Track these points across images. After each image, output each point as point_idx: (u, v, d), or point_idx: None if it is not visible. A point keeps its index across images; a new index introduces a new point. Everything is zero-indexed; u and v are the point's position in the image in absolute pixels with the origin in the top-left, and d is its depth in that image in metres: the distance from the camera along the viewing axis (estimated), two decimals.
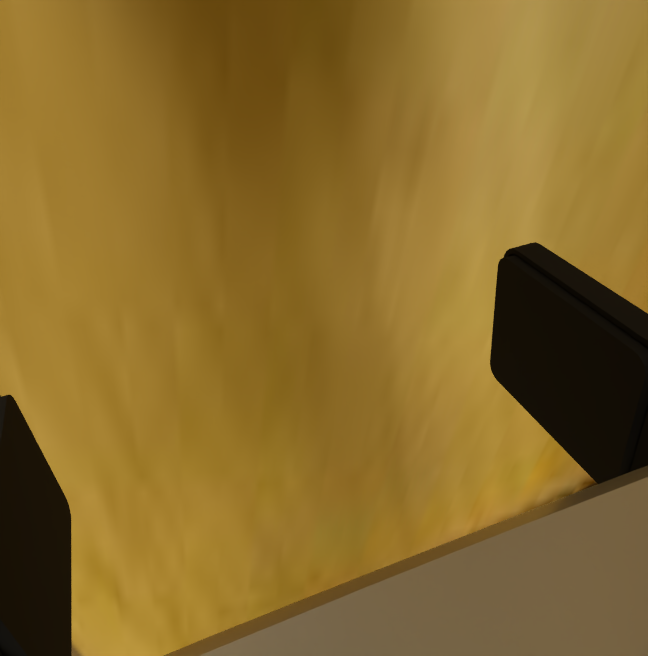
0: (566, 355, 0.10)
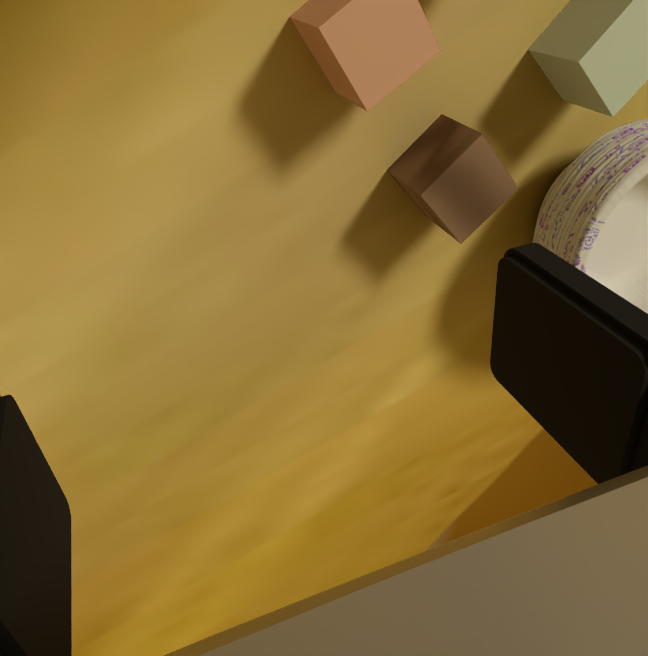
0: (566, 355, 0.10)
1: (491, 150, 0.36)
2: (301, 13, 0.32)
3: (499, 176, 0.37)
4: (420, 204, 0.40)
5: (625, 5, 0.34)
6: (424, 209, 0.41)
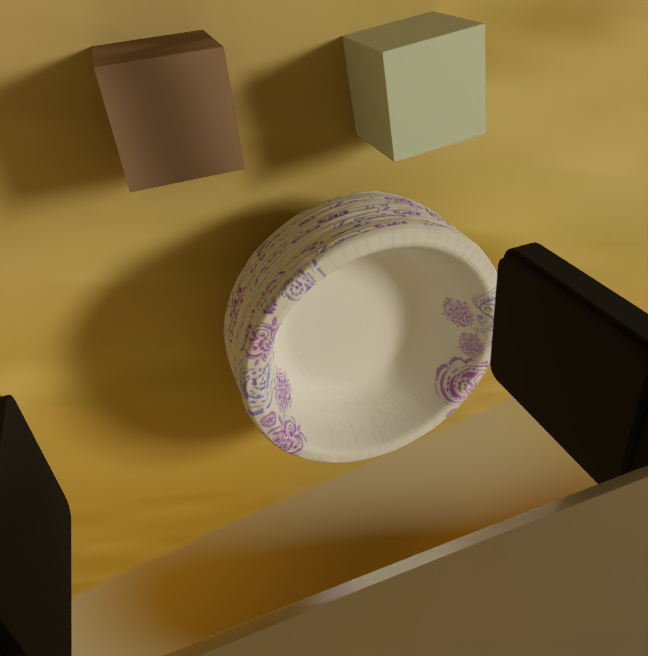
0: (566, 355, 0.10)
1: (227, 82, 0.24)
2: None
3: (224, 131, 0.25)
4: None
5: (459, 29, 0.27)
6: None
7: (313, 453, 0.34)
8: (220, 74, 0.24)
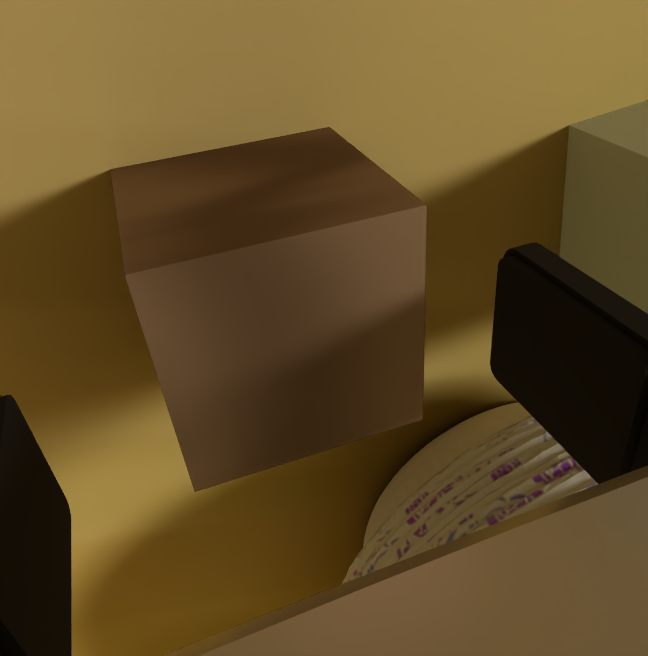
0: (566, 355, 0.10)
1: (420, 274, 0.11)
2: None
3: (398, 362, 0.12)
4: None
5: None
6: None
7: None
8: (410, 260, 0.11)
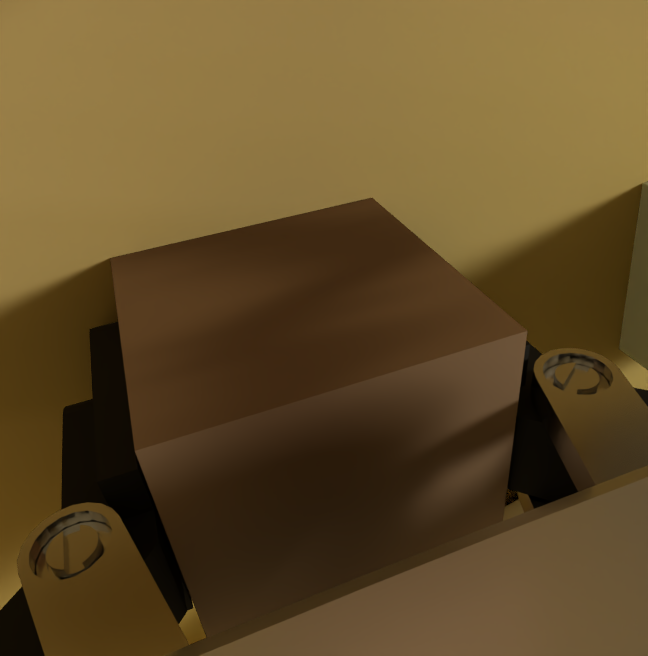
0: None
1: (511, 409, 0.08)
2: None
3: (476, 506, 0.09)
4: None
5: None
6: None
7: None
8: (500, 395, 0.08)
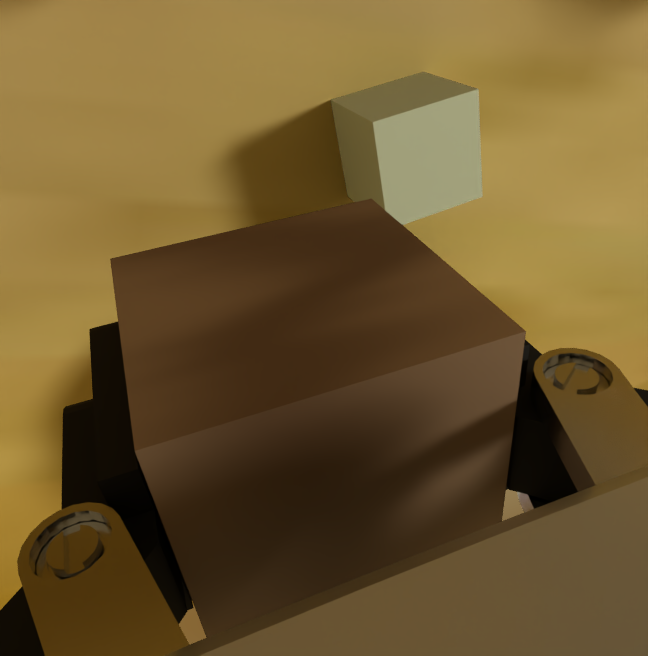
0: None
1: (510, 409, 0.08)
2: None
3: (475, 506, 0.09)
4: None
5: (452, 95, 0.26)
6: None
7: None
8: (499, 395, 0.08)
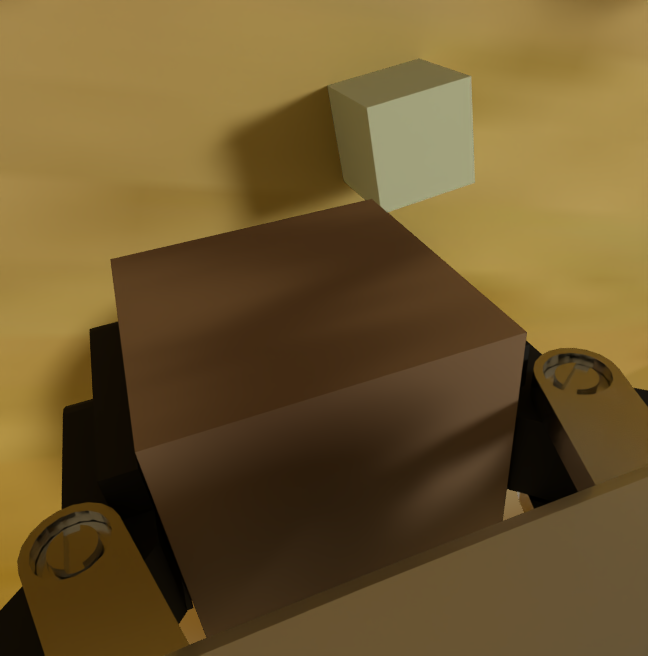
0: None
1: (511, 410, 0.08)
2: None
3: (475, 507, 0.09)
4: None
5: (445, 82, 0.26)
6: None
7: None
8: (500, 396, 0.08)
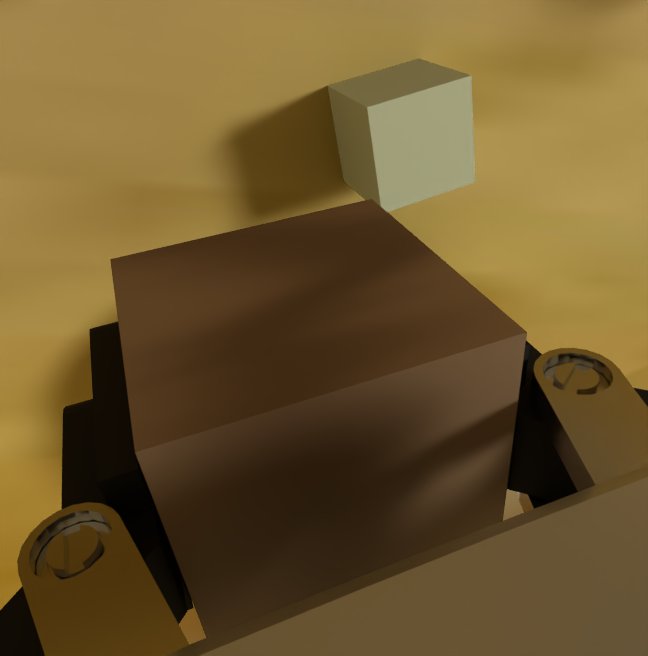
0: None
1: (511, 410, 0.08)
2: None
3: (475, 507, 0.09)
4: None
5: (445, 81, 0.26)
6: None
7: None
8: (500, 396, 0.08)
